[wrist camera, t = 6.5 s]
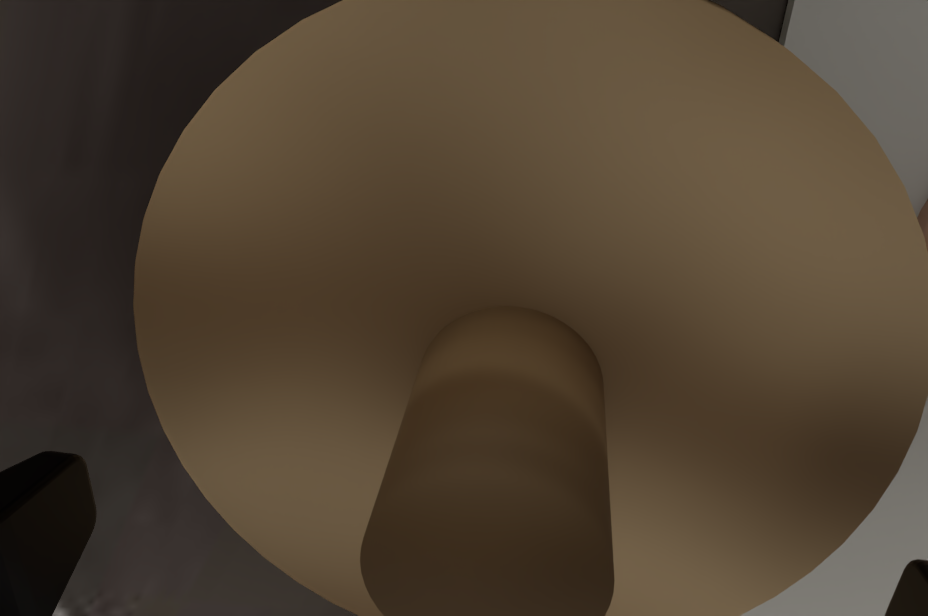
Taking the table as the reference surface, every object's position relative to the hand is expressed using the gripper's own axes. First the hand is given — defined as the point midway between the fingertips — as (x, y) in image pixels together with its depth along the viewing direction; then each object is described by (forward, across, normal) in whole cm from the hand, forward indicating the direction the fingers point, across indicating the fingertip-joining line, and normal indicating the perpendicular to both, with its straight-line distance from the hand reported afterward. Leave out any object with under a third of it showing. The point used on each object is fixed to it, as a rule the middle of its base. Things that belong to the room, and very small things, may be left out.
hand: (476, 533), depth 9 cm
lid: (+4, 0, 0) cm, 4 cm away
